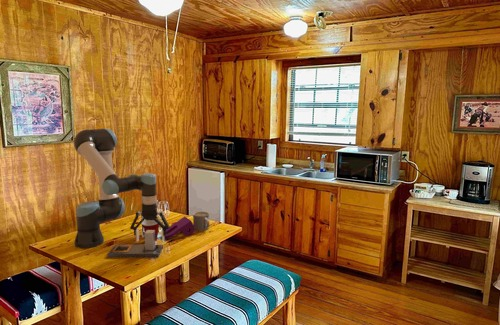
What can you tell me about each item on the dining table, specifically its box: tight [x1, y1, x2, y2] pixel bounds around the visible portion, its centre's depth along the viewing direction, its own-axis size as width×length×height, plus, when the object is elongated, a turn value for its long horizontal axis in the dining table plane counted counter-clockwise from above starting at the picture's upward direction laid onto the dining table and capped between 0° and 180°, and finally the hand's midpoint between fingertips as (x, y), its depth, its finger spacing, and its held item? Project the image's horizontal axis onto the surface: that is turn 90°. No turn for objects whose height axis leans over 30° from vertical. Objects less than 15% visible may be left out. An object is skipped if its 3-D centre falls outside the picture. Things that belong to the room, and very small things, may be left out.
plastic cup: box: [140, 218, 161, 242], centre depth 201 cm, size 11×11×12 cm
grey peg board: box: [107, 244, 164, 258], centre depth 185 cm, size 26×12×2 cm, turn 93°
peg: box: [144, 230, 156, 252], centre depth 184 cm, size 4×4×12 cm
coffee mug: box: [192, 211, 210, 232], centre depth 221 cm, size 13×10×10 cm
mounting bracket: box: [164, 216, 195, 240], centre depth 211 cm, size 9×8×18 cm
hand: (150, 241), depth 184 cm, fingers open, 13 cm apart
